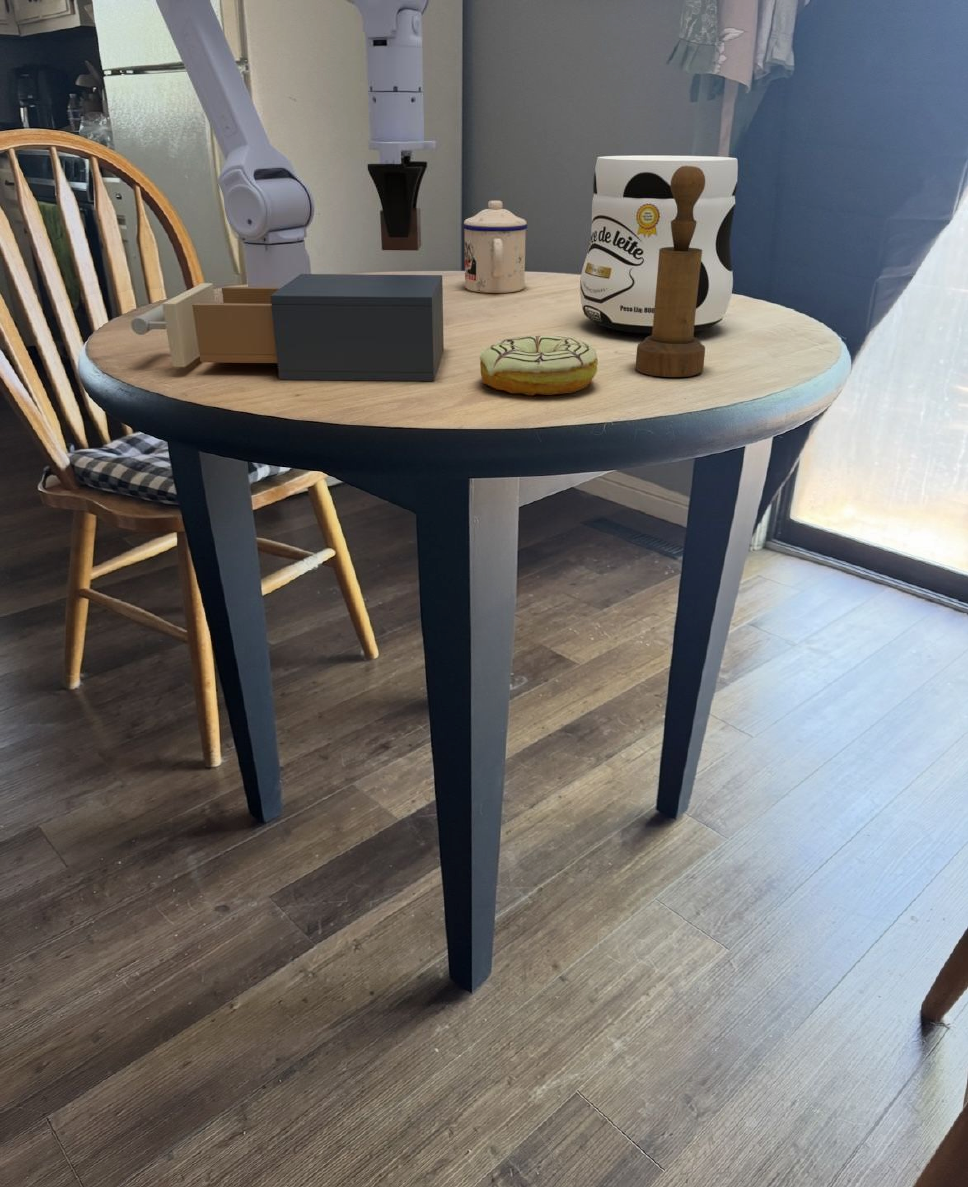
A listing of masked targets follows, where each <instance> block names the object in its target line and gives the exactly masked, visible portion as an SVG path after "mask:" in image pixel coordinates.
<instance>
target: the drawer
mask: <svg viewBox="0 0 968 1187" xmlns="http://www.w3.org/2000/svg"><path fill="white" fill-rule="evenodd" d="M280 288H282V287H248V286H222V287H221V294H222V301H223V302H221V303H220V302H216V298H215V291H214V290H215V289H214V283H211V282H201V283H200V284H197V285H195V286H193V287H192V288H190V289H188V290H186V291H183V292H182V293H180V294H178V295H176V296H173V297H172V298H170V299H168V300H166V301H165V302H163V303H161V304H160V305H157V306H155V307H154V308H152V309H149V310H148V311H146V312H144V313H142V314H140V315H138V316H136V317H135V318H133V319H132V320H131V321H130V328H131V329H132V331H133V333H135V334H137V335H139V336H143V335H145V334H147V333H149V332H151V331H152V330H166V335H167V341H168V347H169V348H168V349H169V353H170V360H171V365H172V367H173V368H186V366H187V367H188V365H189V364H191V363H192V362H193V361H195V360H196V359H197V358H199V360H200V363H223V364H225V363H226V364H227V363H230V364H231V363H232V364H233V363H234V364H237V363H238V364H278V363H277V353H276V344H275V335H274V326H273V316H272V307H271V305H272V304H271V298H270V295H272V294H273V293H275V292H276V291H278V290H279V289H280Z"/></svg>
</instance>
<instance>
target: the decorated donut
mask: <svg viewBox="0 0 968 1187" xmlns="http://www.w3.org/2000/svg"><path fill="white" fill-rule="evenodd" d="M479 360H480V361H479V362H480V376H481V380H482V382H483V384H484V385H488V386H489V387H491V388H493V389H495V390H501V391H505V392H507V393H509V394H523V395H526V396H535V395H536V394H539V395H541V396H553V395H563V394H570V393H571V394H573V393H576V392H577V391H581V390H583V389H585V388H587V386H588V385H589V384H590V383H591V382H592V381H593V379H594V377H595V376H596V374H597V373H598V365H599V364H598V363H599V362H598V361H599V360H598V355H597V352H596V349H595V348H594V347H593V346H591V345H590V344H588V343H586V342H584V341H582V340H578V339H576V338H573V337H567V336H559V335H524V336H518V337H513V338H506V339H503V340H501V341H499V342H496V343H493V344H491V345H490V346H488V347H487V348H485V349H484V350H483V351H482V352H480V355H479Z"/></svg>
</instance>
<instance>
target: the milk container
mask: <svg viewBox="0 0 968 1187" xmlns="http://www.w3.org/2000/svg"><path fill="white" fill-rule="evenodd" d="M738 162H739V161H738V158H736V157H729V156H728V157H727V156H713V155H711V156H709V155H664V154H663V155H648V154H647V155H644V154H643V155H640V154H639V155H605V156H604V155H603V156H597V159H596V163H595V168H594V173H593V183H592V184H593V185H592V187H593V188H592V189H593V190H592V191H593V196H592V201H591V229H590V230H591V231H590V240H589V246H588V250H587V253H586V256H585V260H584V263H583V266H582V270H581V273H580V278H579V296H580V304H581V308H582V312H583V314H584V316H586V318H588V319H589V320H590V321H591V322H593V323H594V324H595V325H598V326H601V327H604V328H608V329H611V330H614V331H619V332H626V333H632V334H633V333H634V334H643V335H652V331H653V319H654V308H655V296H656V284H657V273H658V261H659V249H660V248H665V247H674V245H673V238H672V231H671V221H672V220H674V219H675V217H676V215H677V205H676V202H675V200H674V197H673V194H672V192H671V187H670V185H671V179H672V176H673V174H674V173H675V171H676V170H677V169H678V168H680V167H682V166H693V167H698V168H700V169H701V170H702V171H703V173H704V176H705V187H704V190H703V192H702V194H701V196H700V197H699V199H698V201H697V202H696V204H695V205H694V209H693V217H694V220H695V221H697V223H696V228H695V231H694V234H693V237H692V240H691V242H690V245H689V248H697V249H701V250H702V257H701V266H700V274H699V284H698V293H697V302H696V313H695V323H694V332H700V331H703V330H706V329H709V328H712V327H713V326H715V325H717V324H718V323H719V322H721V321H722V320H723V319H724V317H725V315H726V314H727V311H728V308H729V305H730V301H731V298H732V293H733V288H734V287H733V286H734V275H733V274H734V273H733V265H732V258H731V234H732V227H733V221H734V216H735V215H734V214H735V208H736V192H737V188H738V187H737V186H738V172H739V171H738V169H739V164H738Z"/></svg>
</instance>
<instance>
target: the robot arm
mask: <svg viewBox="0 0 968 1187" xmlns="http://www.w3.org/2000/svg"><path fill="white" fill-rule="evenodd" d="M345 2H348V3H350V4H351V5H354V6H356V8H357V10H358V11H359V13H360V15H361V20H362V32H364V40H365V60H366V62H365V63H366V80H367V82H366V83H367V102H368V120H369V122H368V123H369V140H368V141H367V142H368V149H369V150H371V151H379V163H368V164H367V172H368V174H369V176H370V178H371V180H372V182H373V184H374V186H375V188H376V191H377V195H378V197H379V201H380V205H381V210H383V214H384V219H385V224H386V228H387V232H388V235H389V237H408V236H409V232H410V226H411V218H412V208H417V205H418V198H419V192H420V189H421V184H422V181H423V178H424V175H425V173H426V172H427V171H426V170H427V168H428V161H423V160H421V161H419V160H417V161H416V160H414V159H415V151H426V150H428V149H436V148H437V142H436V141H435V140H425V108H424V107H425V103H424V64H423V63H424V61H423V60H424V59H423V57H424V56H423V23H422V19H423V18H422V16H423V15H424V14H425V13H426V11H427V9H428V7H429V5H430V2H431V0H345ZM155 3H156V5H157V8H158V9H159V12H160V14H161V16H162V19H163V21H164V23H165V25H166V27H167V30H168V32H169V34H170V37H171V39H172V41H173V43H174V46H175V48H176V51H177V52H178V53H177V54H178V55H179V57H180V60H181V62H182V64H183V66H184V69H185V71H186V74H187V75H188V78H189V80H190V82H191V85H192V87H193V89H194V92H195V94H196V96H197V99H198V100H199V103H200V105H201V108H202V110H203V112H204V114H205V116H206V119H207V121H208V124H209V125H210V128H211V130H212V133H213V134H214V137H215V139H216V141H217V144H218V146H219V149H220V151H221V153H222V155H223V158H224V160H225V163H224V165H223V167H222V169H221V170H220V173H219V175H218V178H217V184H218V186H219V188H220V190H221V194H222V197H223V205H224V206H223V207H224V214H225V218H226V220H227V222H228V225H229V226H230V227H231V229H232V231H233V232H234V233H235V234H236V235H237V236H238V242H239V243H242V248H243V256H244V265H245V271H246V280H247V287H283V286H285V285H286V284H287V283H289V282H290V281H292V280H293V279H294V278H296V277H297V276H299V275H300V274H312V268H311V267H312V266H311V259H310V255H309V253H308V251H307V249H306V242H305V239H306V238H308V236H307V235H308V233H307V229H308V228H309V227H310V225H311V223H312V222H313V219H314V216H315V201H314V200H315V199H314V197H313V195H312V192H311V190H310V188H309V187H308V185H307V184H306V183H305V182H304V181H303V180H302V179H301V178H300V177H299V176H298V174H297V172H296V170H295V168H294V166H293V163H292V162H291V161H290V159H288V158H287V157H286V156H285V155H284V154H283V153H281V152H280V151H279V150H278V149H276V148H275V147H274V146H273V144H271V142H270V139H269V138H268V135H267V133H266V129H265V128H264V125H263V123H262V121H261V118H260V115H259V114H258V111H257V108H256V107H255V104H254V102H253V99H252V97H251V93H250V92H249V89H248V88H247V85H246V82H245V81H244V78H243V76H242V73H241V70H240V69H239V66H238V64H237V62H236V59H235V57H234V54H233V52H232V49H231V47H230V45H229V43H228V40H227V37H226V34H225V33H224V30H223V28H222V26H221V24H220V21H219V19H218V16H217V14H216V11H215V9H214V7H213V4H212V2H211V0H155Z"/></svg>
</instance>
